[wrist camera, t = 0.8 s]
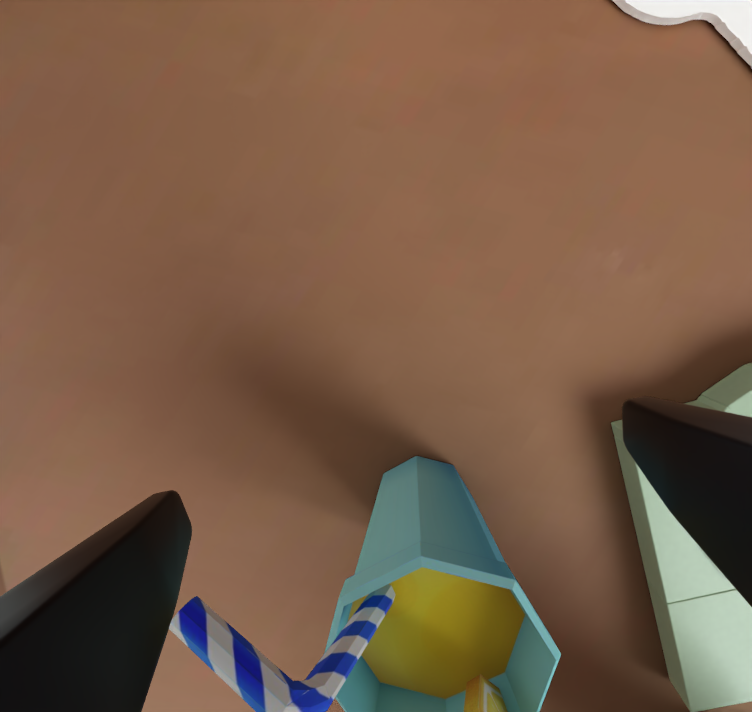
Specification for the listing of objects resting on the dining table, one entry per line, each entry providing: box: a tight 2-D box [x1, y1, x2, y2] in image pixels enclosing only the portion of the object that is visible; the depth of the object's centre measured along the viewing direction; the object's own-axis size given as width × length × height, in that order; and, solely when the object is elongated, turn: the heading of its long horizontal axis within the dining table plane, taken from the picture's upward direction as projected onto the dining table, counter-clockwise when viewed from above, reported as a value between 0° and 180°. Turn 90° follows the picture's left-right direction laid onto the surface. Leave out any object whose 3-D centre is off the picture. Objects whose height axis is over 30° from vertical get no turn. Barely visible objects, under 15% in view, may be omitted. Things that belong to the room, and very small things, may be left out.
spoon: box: [612, 0, 752, 67], centre depth 20 cm, size 5×18×1 cm, turn 50°
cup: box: [169, 456, 561, 712], centre depth 17 cm, size 14×8×15 cm, turn 54°
